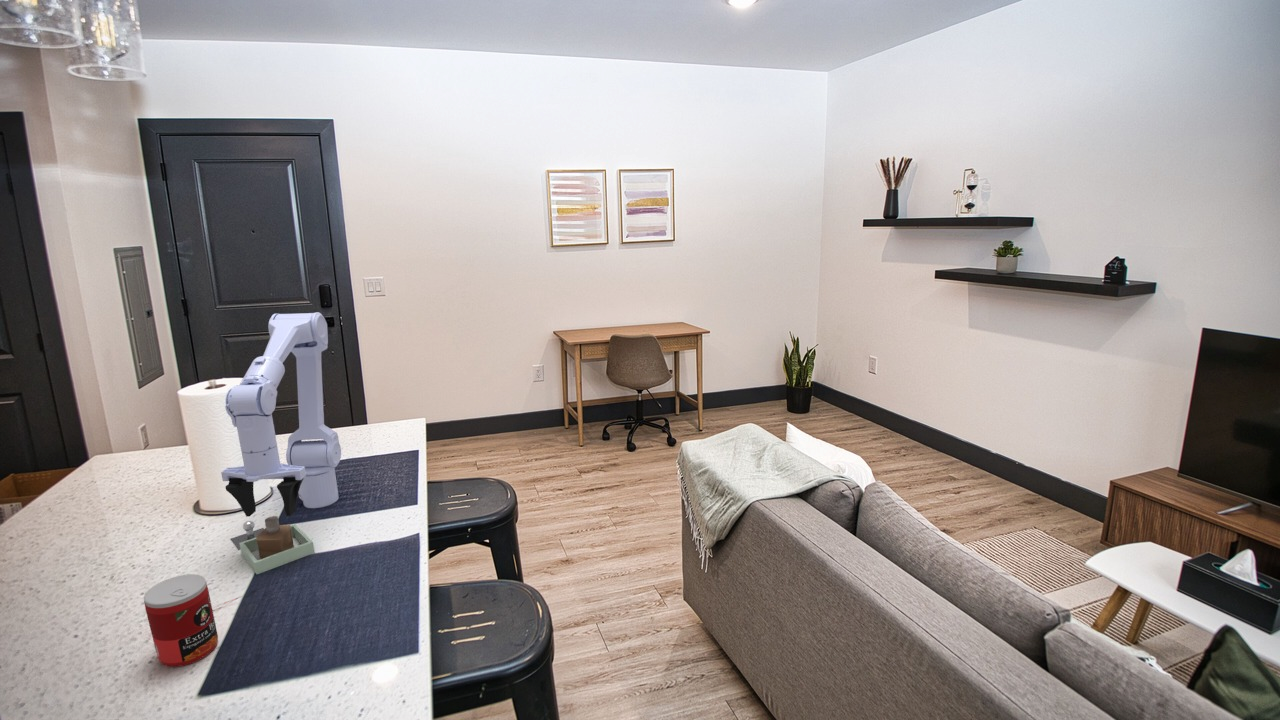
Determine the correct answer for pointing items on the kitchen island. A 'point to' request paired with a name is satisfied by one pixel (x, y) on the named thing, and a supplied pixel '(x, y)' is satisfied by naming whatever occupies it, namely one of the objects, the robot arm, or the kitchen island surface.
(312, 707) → the kitchen island surface
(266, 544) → the brown square bottle
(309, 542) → the bin
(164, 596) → the canned food
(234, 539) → the stud plate
